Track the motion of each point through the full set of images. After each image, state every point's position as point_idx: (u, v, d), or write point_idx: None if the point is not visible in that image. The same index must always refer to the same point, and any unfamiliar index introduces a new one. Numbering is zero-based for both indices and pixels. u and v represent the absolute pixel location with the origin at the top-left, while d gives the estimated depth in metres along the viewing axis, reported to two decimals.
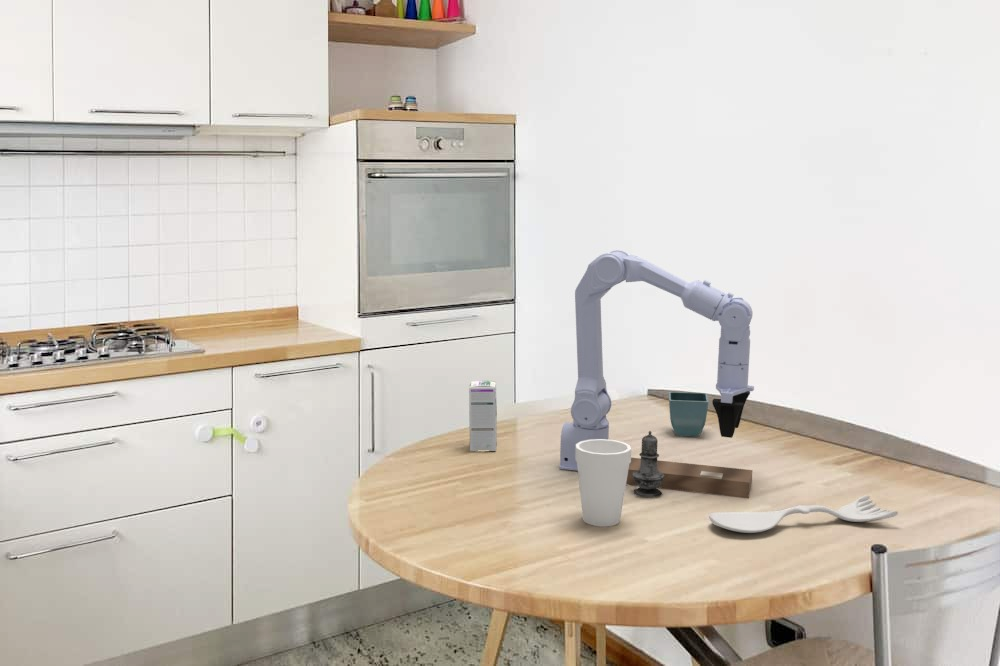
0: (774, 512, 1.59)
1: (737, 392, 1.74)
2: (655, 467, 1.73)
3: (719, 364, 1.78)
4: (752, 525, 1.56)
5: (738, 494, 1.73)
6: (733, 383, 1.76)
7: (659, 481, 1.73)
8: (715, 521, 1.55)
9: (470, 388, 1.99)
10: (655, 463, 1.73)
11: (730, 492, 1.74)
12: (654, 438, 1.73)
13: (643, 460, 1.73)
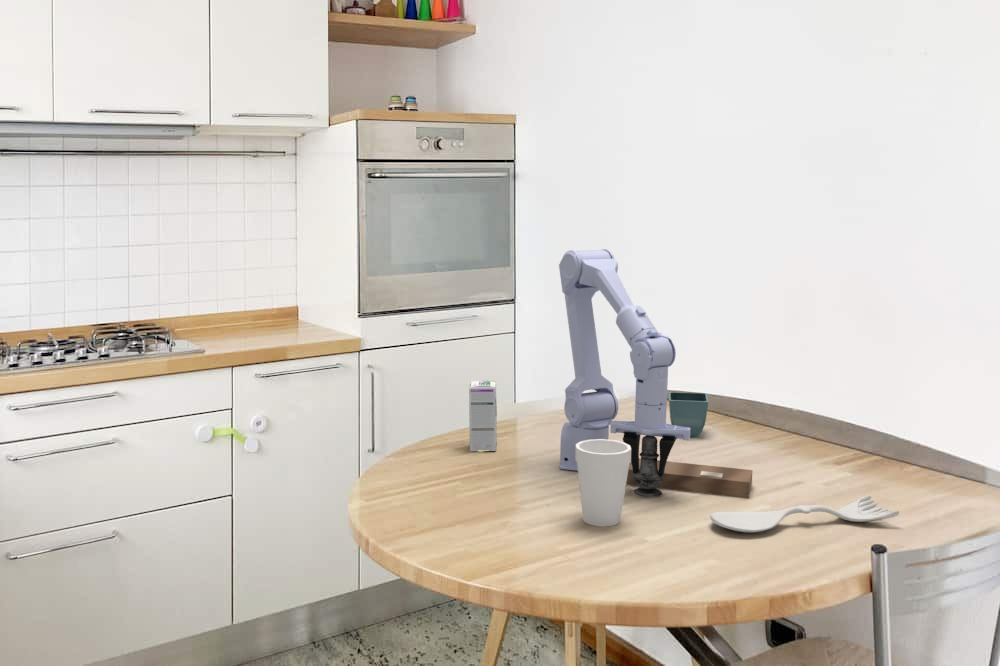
0: (775, 512, 1.59)
1: (624, 426, 1.73)
2: (655, 467, 1.73)
3: None
4: (753, 525, 1.57)
5: (738, 494, 1.73)
6: None
7: (659, 481, 1.73)
8: (716, 520, 1.55)
9: (470, 388, 1.99)
10: (655, 463, 1.73)
11: (730, 492, 1.74)
12: (654, 438, 1.73)
13: (643, 460, 1.73)
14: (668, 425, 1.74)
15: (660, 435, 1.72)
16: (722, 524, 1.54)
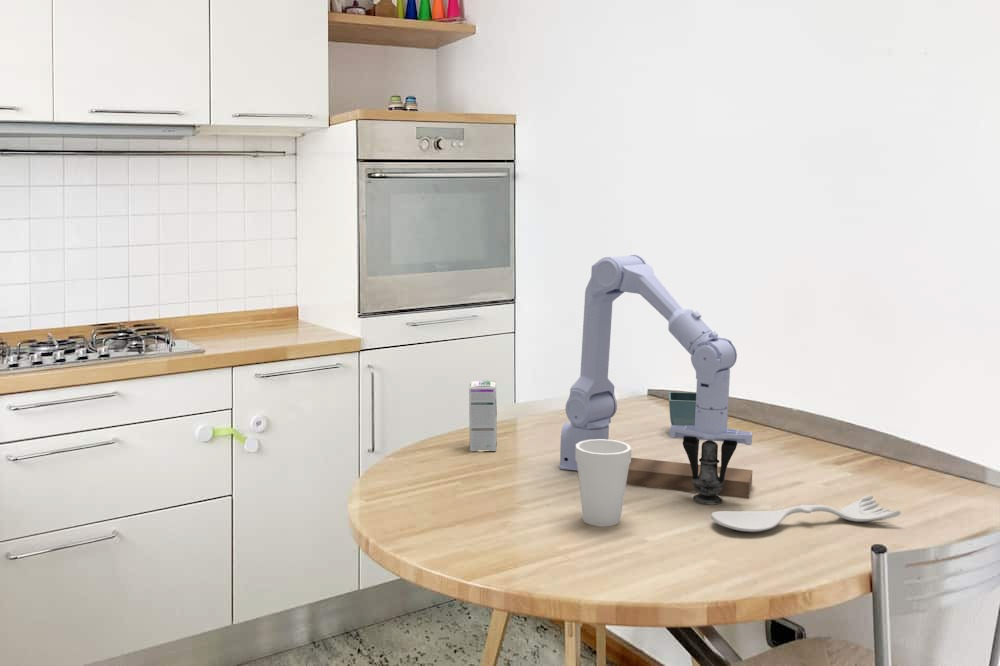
0: (776, 511, 1.59)
1: (684, 431, 1.70)
2: (715, 473, 1.70)
3: None
4: (754, 524, 1.57)
5: (738, 494, 1.73)
6: (695, 424, 1.70)
7: (720, 487, 1.69)
8: (717, 520, 1.55)
9: (470, 388, 1.99)
10: (715, 469, 1.70)
11: (730, 492, 1.74)
12: (714, 443, 1.69)
13: (703, 466, 1.70)
14: (729, 430, 1.70)
15: (721, 440, 1.69)
16: (723, 523, 1.54)
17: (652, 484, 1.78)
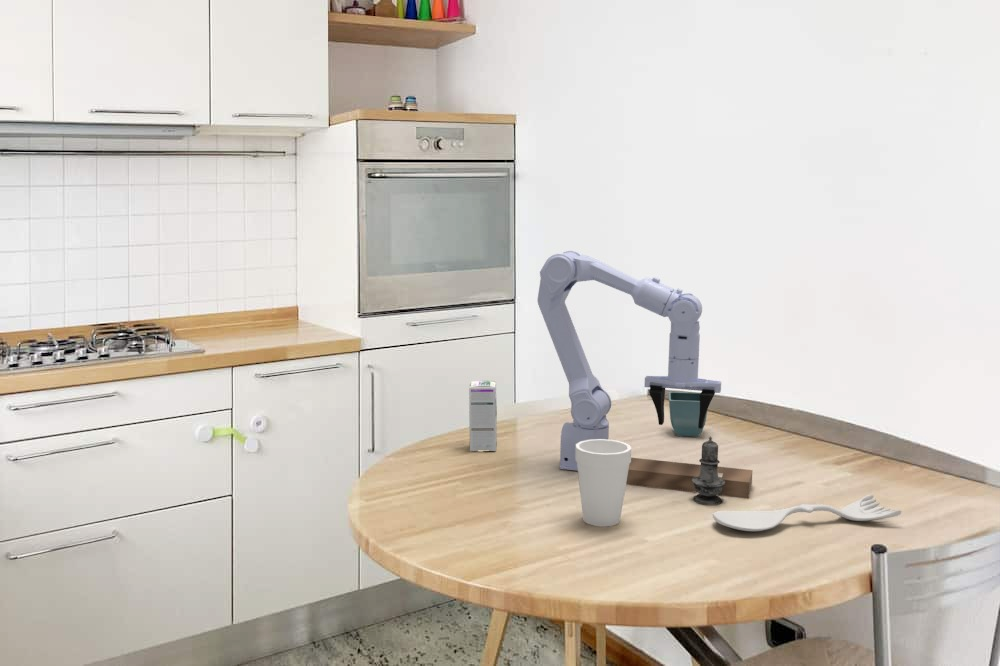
0: (777, 511, 1.59)
1: (657, 381, 1.82)
2: (715, 473, 1.70)
3: None
4: (755, 524, 1.57)
5: (738, 494, 1.73)
6: (668, 374, 1.82)
7: (720, 488, 1.69)
8: (718, 519, 1.56)
9: (470, 388, 1.99)
10: (716, 469, 1.70)
11: (730, 492, 1.74)
12: (715, 444, 1.69)
13: (703, 466, 1.70)
14: (699, 379, 1.83)
15: (692, 389, 1.81)
16: (725, 523, 1.54)
17: (652, 484, 1.78)
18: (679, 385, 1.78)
